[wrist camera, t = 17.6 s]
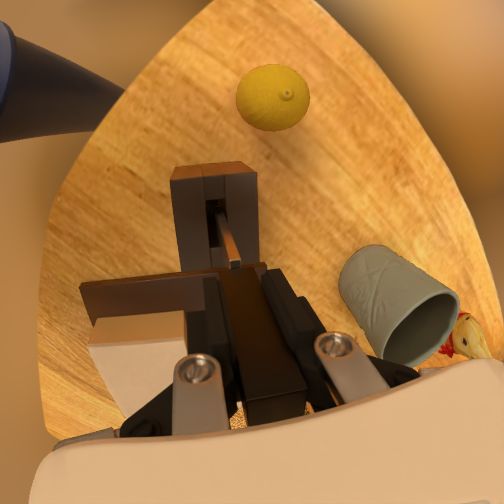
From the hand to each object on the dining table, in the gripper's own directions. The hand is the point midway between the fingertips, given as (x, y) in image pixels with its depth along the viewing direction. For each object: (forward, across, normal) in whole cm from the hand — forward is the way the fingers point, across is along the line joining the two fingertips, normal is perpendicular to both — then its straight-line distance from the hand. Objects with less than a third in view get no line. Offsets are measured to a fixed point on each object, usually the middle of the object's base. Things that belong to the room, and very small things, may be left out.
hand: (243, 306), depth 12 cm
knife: (+11, 0, 0) cm, 11 cm away
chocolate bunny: (+18, -35, +22) cm, 45 cm away
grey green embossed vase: (+18, -18, +11) cm, 27 cm away
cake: (+16, +9, +17) cm, 25 cm away
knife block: (+17, 0, 0) cm, 17 cm away
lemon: (+17, -5, -9) cm, 20 cm away
